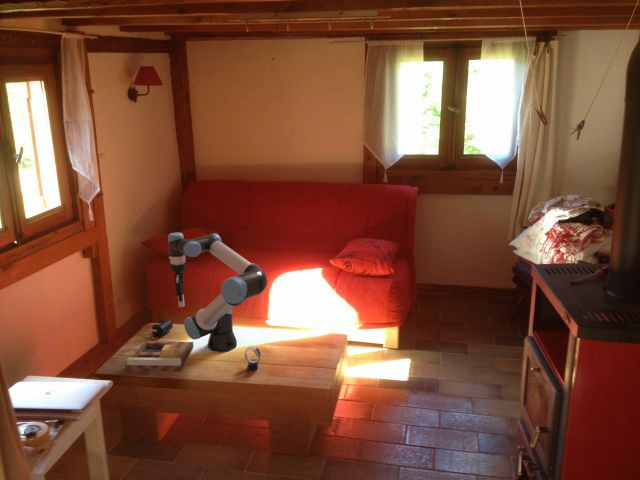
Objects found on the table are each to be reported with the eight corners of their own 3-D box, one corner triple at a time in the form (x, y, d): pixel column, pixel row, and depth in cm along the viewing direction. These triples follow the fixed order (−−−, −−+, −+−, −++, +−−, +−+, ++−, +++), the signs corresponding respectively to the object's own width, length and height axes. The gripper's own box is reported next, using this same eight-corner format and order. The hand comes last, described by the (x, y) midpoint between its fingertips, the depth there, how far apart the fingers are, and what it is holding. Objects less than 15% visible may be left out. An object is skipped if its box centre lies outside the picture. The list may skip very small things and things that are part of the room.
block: (177, 355, 295) (176, 344, 294) (174, 361, 290) (173, 350, 288) (166, 355, 296) (165, 344, 294) (162, 361, 290) (161, 350, 288)
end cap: (163, 338, 322) (162, 327, 320) (152, 337, 324) (151, 325, 322) (173, 331, 331) (172, 319, 329) (162, 329, 333) (161, 318, 331)
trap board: (193, 347, 311) (192, 336, 310) (180, 371, 286) (179, 359, 285) (144, 346, 312) (143, 336, 311) (127, 370, 287) (126, 359, 286)
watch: (261, 370, 286) (260, 350, 283) (244, 370, 286) (243, 350, 283) (262, 365, 292) (261, 344, 289) (246, 365, 292) (245, 344, 289)
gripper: (172, 259, 306) (176, 302, 312) (168, 267, 293) (172, 311, 299) (187, 258, 306) (190, 301, 312) (183, 266, 294) (187, 310, 300)
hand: (181, 306), depth 306 cm, fingers closed
